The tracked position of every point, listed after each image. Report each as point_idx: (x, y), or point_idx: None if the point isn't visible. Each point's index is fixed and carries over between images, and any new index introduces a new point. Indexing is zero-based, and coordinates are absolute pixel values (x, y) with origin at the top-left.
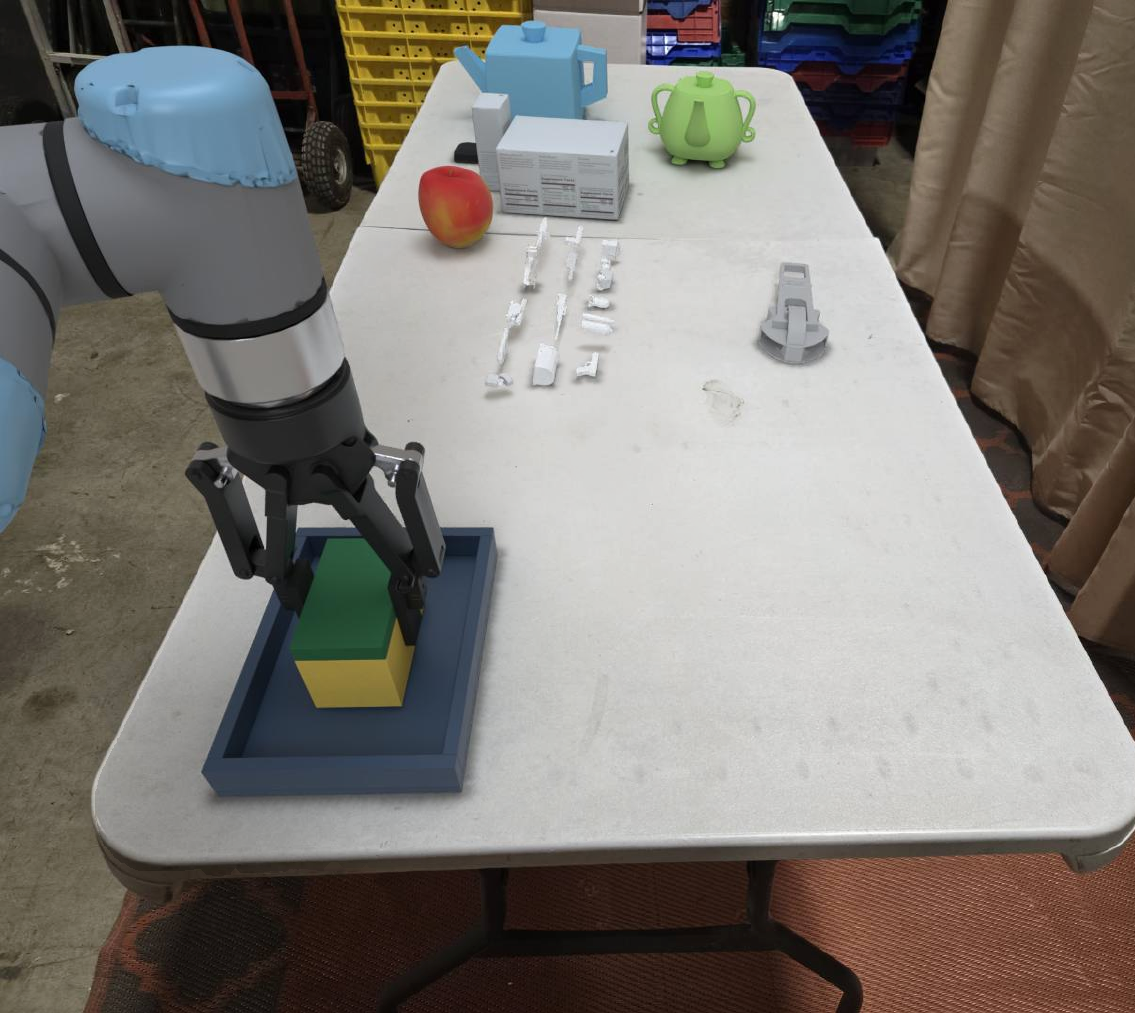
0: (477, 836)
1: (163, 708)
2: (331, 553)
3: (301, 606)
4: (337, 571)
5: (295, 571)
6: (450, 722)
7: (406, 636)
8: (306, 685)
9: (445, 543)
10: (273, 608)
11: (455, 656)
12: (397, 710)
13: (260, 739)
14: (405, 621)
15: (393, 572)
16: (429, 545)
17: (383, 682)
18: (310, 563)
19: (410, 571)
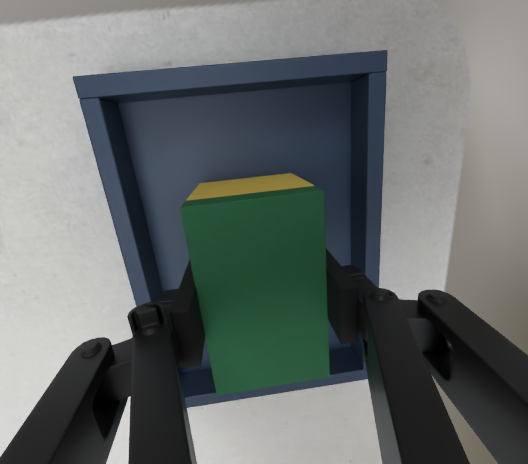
0: (61, 30)
1: (442, 166)
2: (316, 356)
3: (329, 267)
4: (298, 329)
5: (352, 318)
6: (107, 146)
7: None
8: (300, 178)
9: None
10: (371, 279)
11: (166, 253)
12: (205, 180)
13: (338, 131)
14: (189, 269)
15: (165, 338)
16: (28, 424)
17: (205, 189)
18: None
19: (132, 345)
